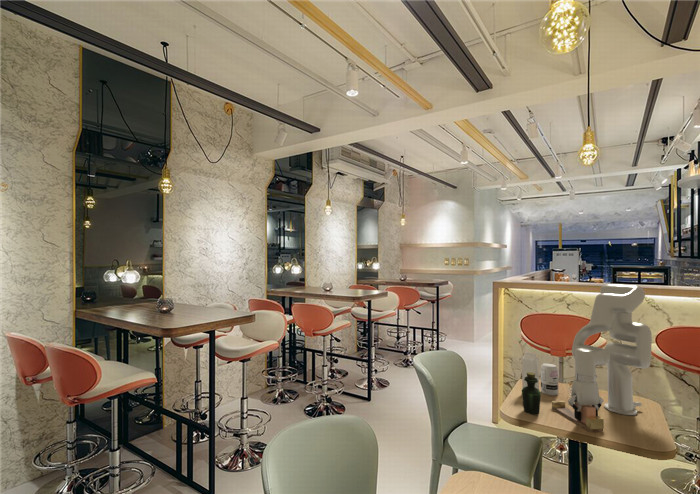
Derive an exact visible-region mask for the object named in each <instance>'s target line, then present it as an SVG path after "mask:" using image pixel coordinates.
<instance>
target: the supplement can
mask: <svg viewBox="0 0 700 494" xmlns="http://www.w3.org/2000/svg"><path fill="white" fill-rule="evenodd" d="M540 392H541V393H543V394H544V395H546V396H557V395H559V368H558V366H557V364H553V363H549V362H543V363H541V365H540Z"/></svg>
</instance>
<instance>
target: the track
mask: <svg viewBox="0 0 700 494" xmlns="http://www.w3.org/2000/svg"><path fill="white" fill-rule="evenodd" d="M551 410H553V411H555V412H557V413H558V414H559V415H561V416H563V417H565V418H566V419H568V420H570V421H571V422H573V423H575V424H577V425H578V426H580V427H582V428H583V429H585V430H587V431H588V432H591V433H594V432H604V428H603V429H590V428H588V427H586V424H585V423H583V422H581V421H579V420H577V419H575V416H574V410H571V409H570V408H569V407H566V401H564V400H552V401H551Z"/></svg>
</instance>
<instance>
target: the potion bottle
mask: <svg viewBox="0 0 700 494" xmlns="http://www.w3.org/2000/svg"><path fill="white" fill-rule="evenodd" d="M524 380H525V381H527V385H528V386H526V387H524V388H523V387H522V388H521V395H522V396H521V397H522V398H521V399H522V405H523V407H522V408H523V411H524V413H526V414H529V415H534V416H537V415H539V414H540V409H541V396H542V391H541V389H539V390H538V389H537V388H535V383H537V382H538V380H537V378H535V373H532V372H527V377H525V379H524Z"/></svg>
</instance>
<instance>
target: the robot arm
mask: <svg viewBox="0 0 700 494" xmlns="http://www.w3.org/2000/svg"><path fill="white" fill-rule="evenodd" d="M599 292H600V293H599V294H598V295H596V297H595V299H594V303H593V307H592V311H591V314H590V315H591V316H590V320H589V322H588V323H587V324H586V325H584V326H583V327H581V328H580V329H579V330H578V331H577V333H576V334H575V335H574V339H573V343H572V347H571V354H572V357H573V358H574V375H575V377H574V379H573V381H572V385H571V393H570V395H571V397H570V398H569V399H568V401H567V402H568V404H569V405H570V406H571V408H572V409H573V411H574V416H575V419H577V420H579V421H581V420H582V419H581V411H580V409H581V407H582V406H584V405H591V406H593V407H595V408H596V416H599V411H600V408H601V407H602V404H603V403H604V398H602V397H601V396H600V391H599V385H598V381H597V380H596V379H597V378H598V375H597V374H596V366H605V365H606V368H607V369H606V370H607V373H606V374H607V402H605V403H604V404H603V405H604V408H605V409H606V410H608V411H610V412H613V413H615V414H619V415H624V416H636V415H637V414H638V410H637V409H636V407H642V405H643V404H642V402H641V401H634V399H633V398H634V397H633V396H634V395H633V394H634V391H633V375H632V372H631V370H630V368H629V367H634V368H638V369H647V368H649V367H650V366H651V362H652V341H653V340H652V339H653V337H652V331H651V329H650V327H649V326H648V325H647V324H645V323H640V322H633V320H632V319H633V316H632V315H633V312H634V311H635V310H636V309H637V308H638V307H639V306H640V305H641V304H642V303H643V302H644V300H645V297H646V292H645V290H644V288H642V286H638V285H634V284H633V285H632V284H631V285H630V284H615V283H612V284H610V283H609V284H604V285H602V286H600V290H599ZM608 331H609V336H610V338H611V339H614V340H617V341H622V342H625V343H620V342H609V343H606V345H605V346H604V348H602V347H598V346H594V345H588V344H585V342H586V340H587V339H588V338H589V337H591V336H593V335H596V334H600V333H603V332H608ZM626 342H627V343H633V344H636V345H630V344H626ZM577 405H578V407H577Z"/></svg>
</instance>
